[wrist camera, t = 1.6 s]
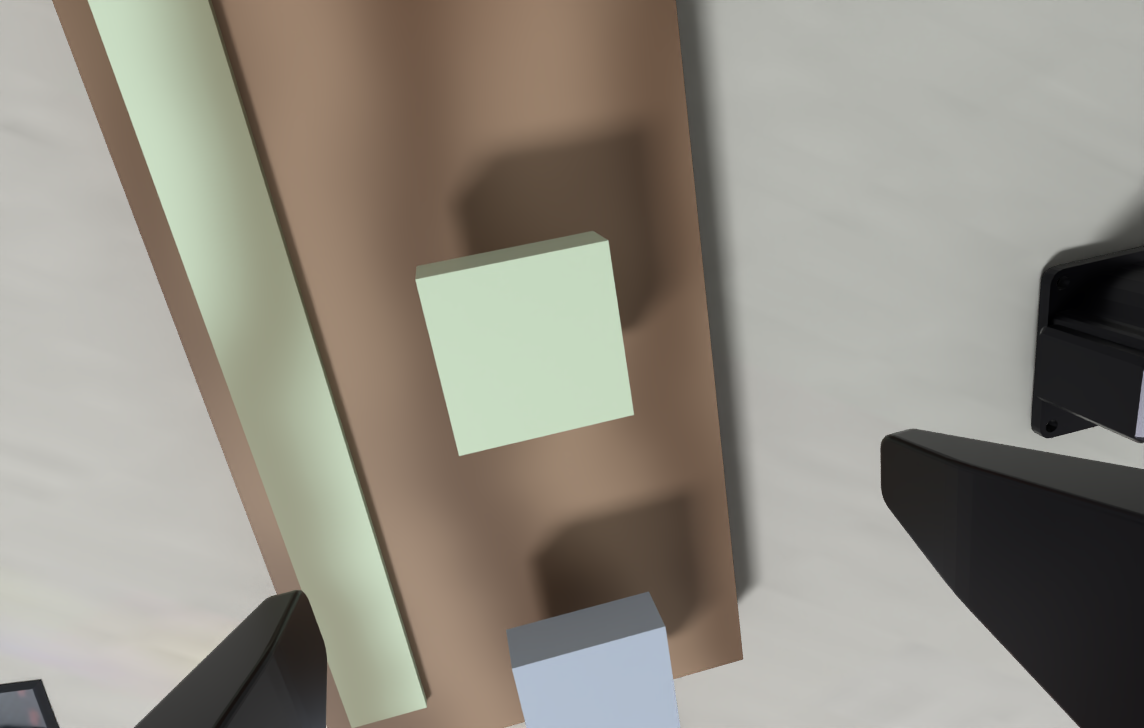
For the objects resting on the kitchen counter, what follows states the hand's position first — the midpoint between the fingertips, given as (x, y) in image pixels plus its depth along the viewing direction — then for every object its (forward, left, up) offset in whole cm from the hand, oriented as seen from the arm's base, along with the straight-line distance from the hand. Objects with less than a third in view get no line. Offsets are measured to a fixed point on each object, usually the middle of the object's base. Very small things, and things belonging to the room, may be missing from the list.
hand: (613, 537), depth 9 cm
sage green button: (0, 0, -10) cm, 10 cm away
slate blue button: (0, +11, -9) cm, 15 cm away
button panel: (+1, 0, -13) cm, 13 cm away
